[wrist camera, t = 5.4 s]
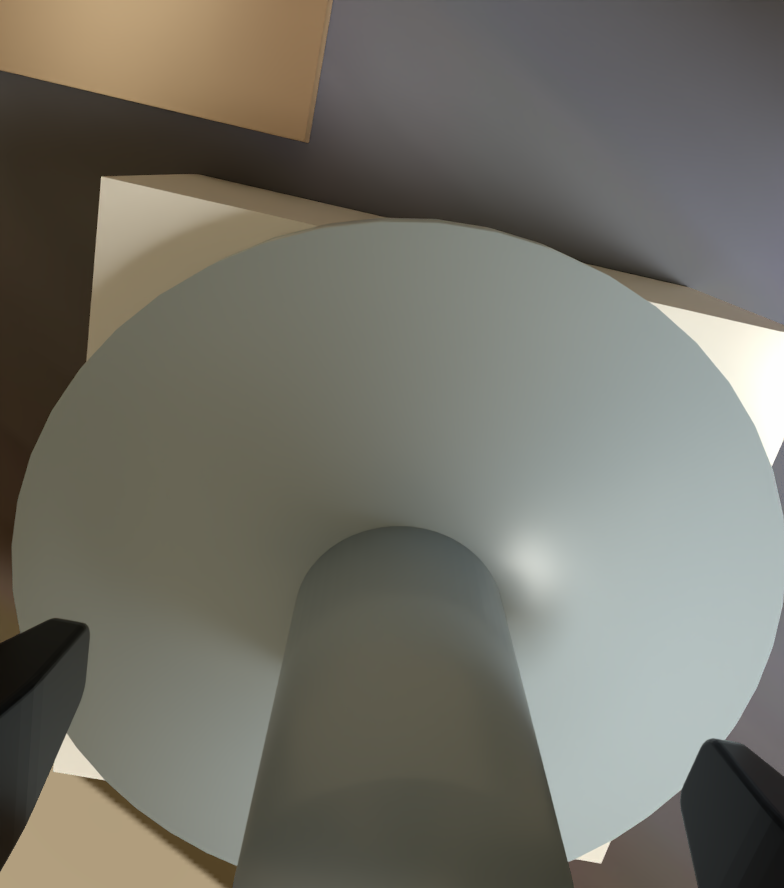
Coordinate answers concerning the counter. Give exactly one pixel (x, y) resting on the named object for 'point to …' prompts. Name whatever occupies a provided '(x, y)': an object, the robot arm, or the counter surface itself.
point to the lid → (402, 557)
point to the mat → (179, 55)
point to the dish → (274, 214)
